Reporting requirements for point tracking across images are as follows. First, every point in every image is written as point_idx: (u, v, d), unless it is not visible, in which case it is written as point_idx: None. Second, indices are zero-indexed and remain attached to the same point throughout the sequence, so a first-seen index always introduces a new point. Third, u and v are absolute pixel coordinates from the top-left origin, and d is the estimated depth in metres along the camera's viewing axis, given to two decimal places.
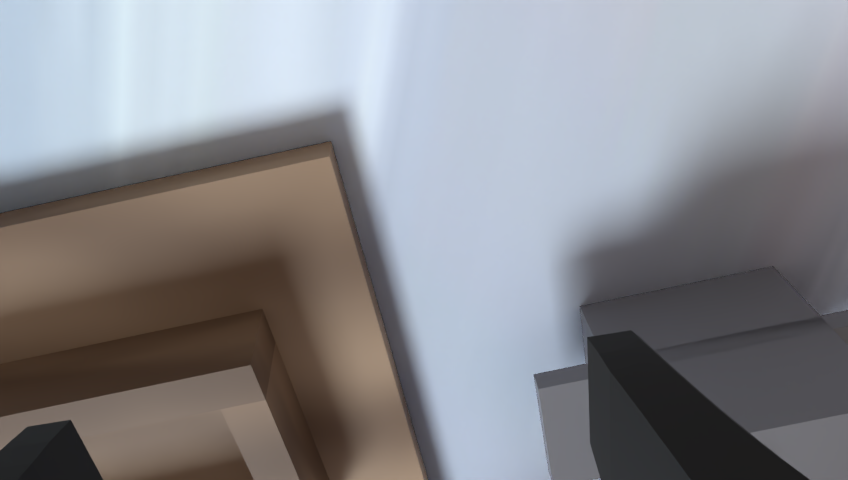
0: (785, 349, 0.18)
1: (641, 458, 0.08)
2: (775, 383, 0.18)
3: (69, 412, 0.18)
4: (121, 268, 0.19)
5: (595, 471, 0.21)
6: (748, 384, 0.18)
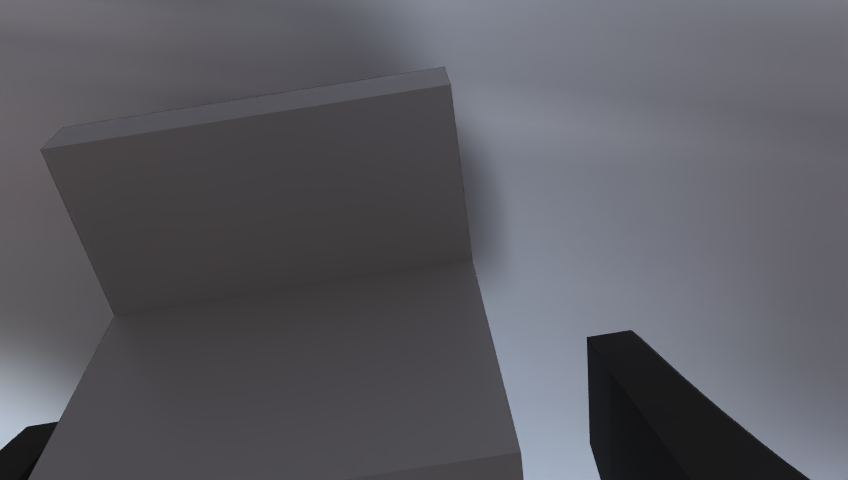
0: None
1: (641, 458, 0.08)
2: None
3: None
4: None
5: None
6: None
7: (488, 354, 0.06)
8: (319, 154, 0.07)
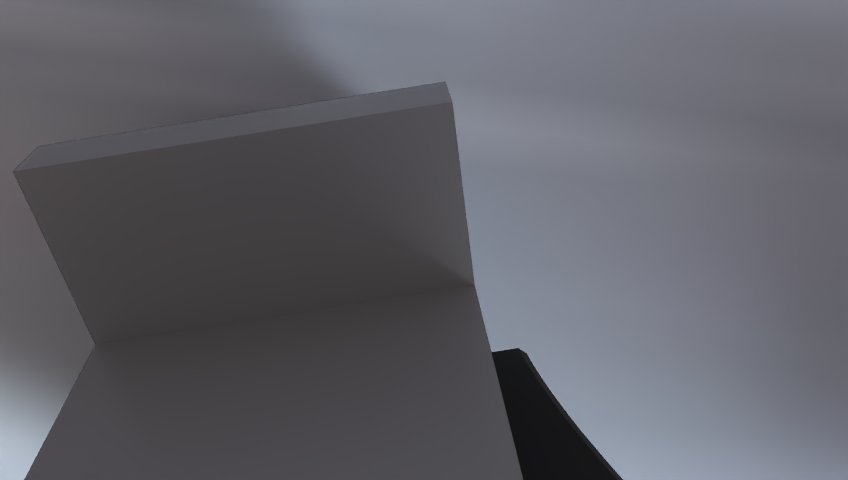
0: None
1: None
2: None
3: None
4: None
5: None
6: None
7: (493, 393, 0.06)
8: (312, 175, 0.07)
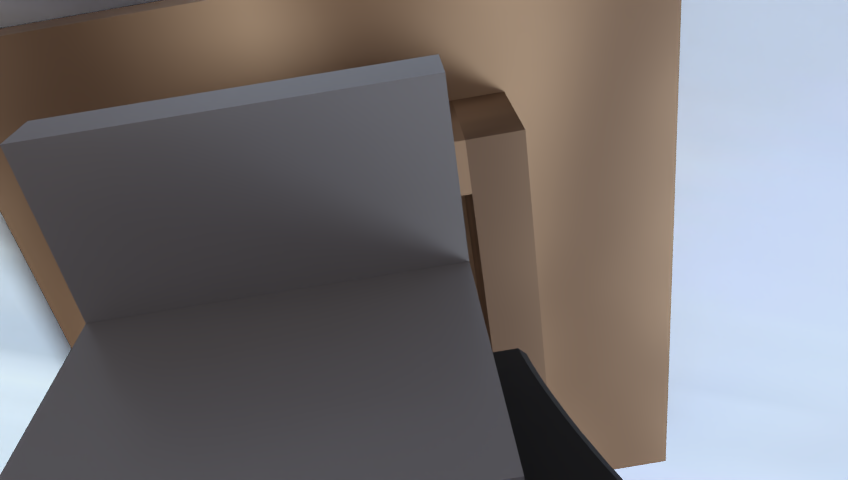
0: None
1: None
2: None
3: None
4: None
5: None
6: None
7: (487, 365, 0.06)
8: (303, 149, 0.06)
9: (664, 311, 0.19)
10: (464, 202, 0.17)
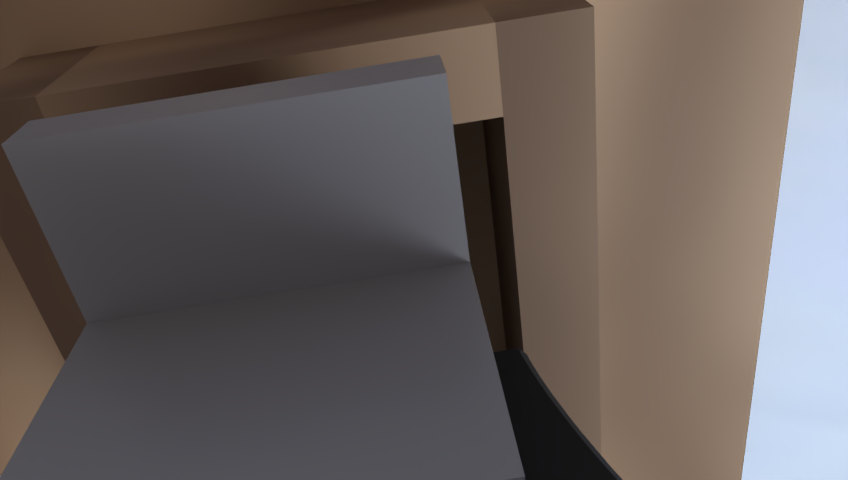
0: None
1: None
2: None
3: None
4: None
5: None
6: None
7: (488, 366, 0.06)
8: (305, 149, 0.06)
9: (755, 309, 0.14)
10: (483, 147, 0.12)
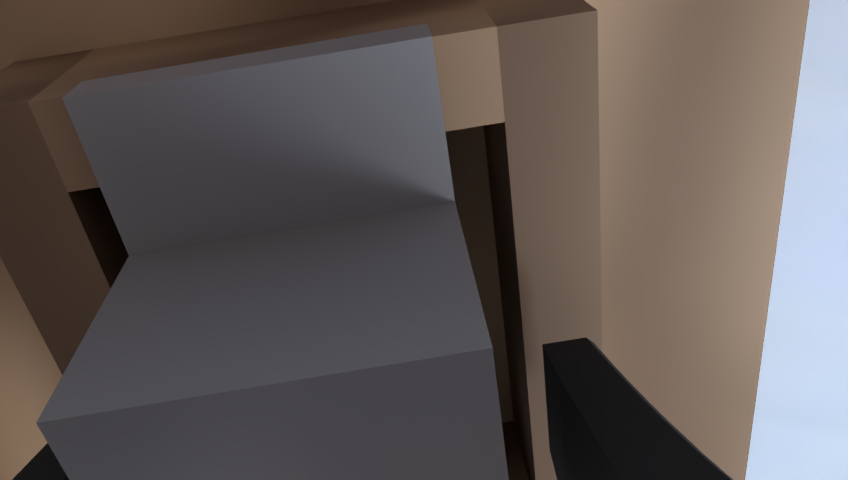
0: None
1: (588, 466, 0.08)
2: None
3: None
4: None
5: None
6: None
7: (467, 275, 0.07)
8: (314, 102, 0.08)
9: (758, 315, 0.14)
10: (484, 152, 0.12)
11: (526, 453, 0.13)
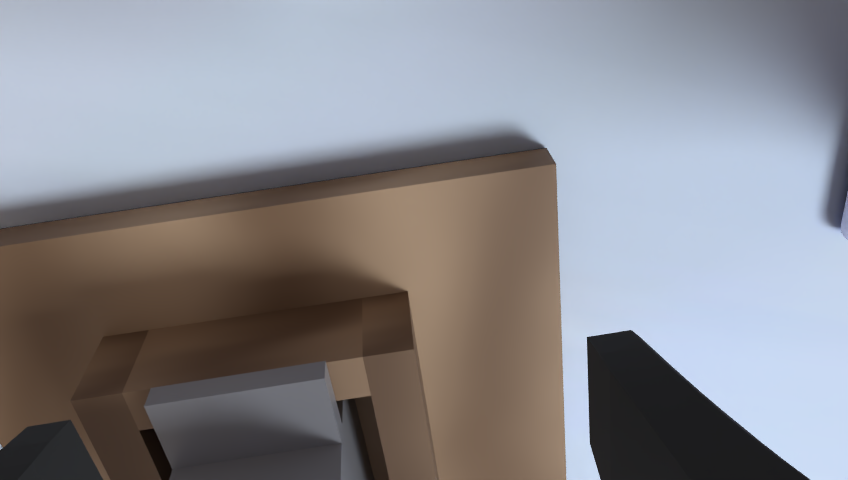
0: None
1: (640, 458, 0.08)
2: None
3: None
4: None
5: None
6: None
7: None
8: (267, 404, 0.16)
9: (559, 457, 0.22)
10: None
11: None
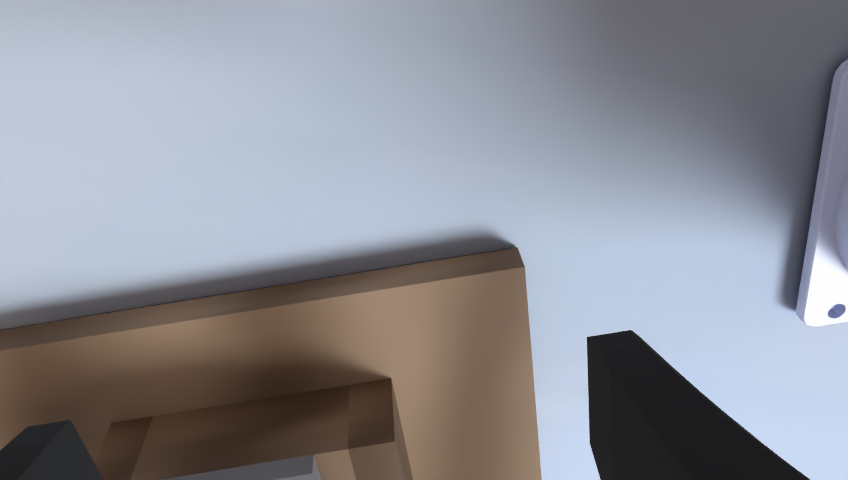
0: None
1: (641, 458, 0.08)
2: None
3: None
4: None
5: None
6: None
7: None
8: None
9: None
10: None
11: None
